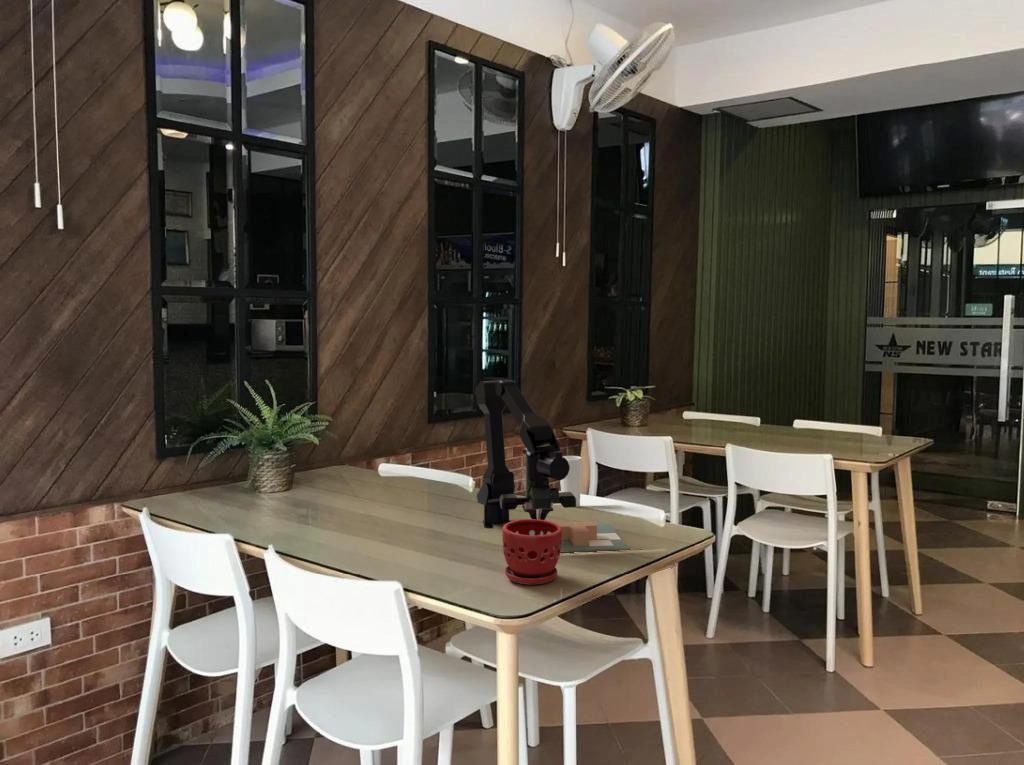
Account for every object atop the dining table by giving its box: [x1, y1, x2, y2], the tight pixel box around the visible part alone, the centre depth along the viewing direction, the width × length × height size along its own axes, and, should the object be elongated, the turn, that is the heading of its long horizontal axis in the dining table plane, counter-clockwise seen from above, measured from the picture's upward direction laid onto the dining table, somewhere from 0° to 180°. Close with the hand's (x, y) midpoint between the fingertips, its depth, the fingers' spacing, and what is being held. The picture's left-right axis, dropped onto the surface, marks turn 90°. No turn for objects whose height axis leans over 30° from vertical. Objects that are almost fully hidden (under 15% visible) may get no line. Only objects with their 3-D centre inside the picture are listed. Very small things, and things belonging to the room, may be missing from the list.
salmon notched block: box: [555, 521, 597, 546], centre depth 214 cm, size 10×9×4 cm
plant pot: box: [502, 518, 562, 586], centre depth 187 cm, size 13×13×12 cm
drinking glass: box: [559, 455, 583, 508], centre depth 251 cm, size 7×7×15 cm
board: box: [529, 522, 631, 554], centre depth 218 cm, size 23×24×1 cm
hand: (537, 534), depth 214 cm, fingers closed
